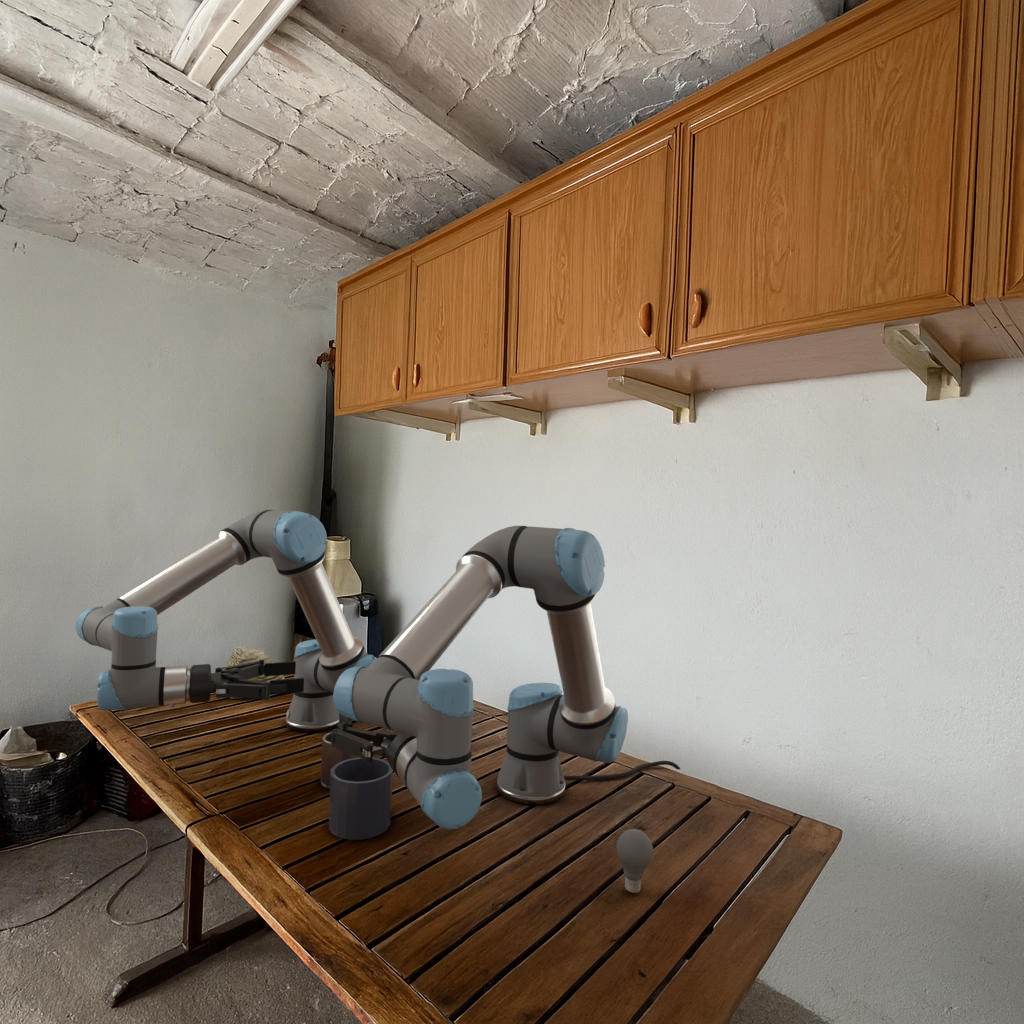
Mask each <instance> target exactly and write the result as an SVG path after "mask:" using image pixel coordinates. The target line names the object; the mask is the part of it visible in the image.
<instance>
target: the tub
mask: <svg viewBox="0 0 1024 1024" xmlns="http://www.w3.org/2000/svg"><path fill="white" fill-rule="evenodd" d="M393 775H394V771H393V769H392V768H391V766H390V764H389V762H388V760H385V759H382V758H377V757H372V762H365V761H364V760H363V759H362V758H353V759H348V760H345V761H342V762H339V763H338V764H336V765H334V766H333V768H332V769H331V777H330V789H329V804H328V805H329V807H328V830H329V832H330V833H331V834H332V835H333V836H335V837H337V838H339V839H343V840H349V841H361V840H366V839H371V838H375V837H377V836H380V835H381V834H383V833H385V832H386V831H387V830H388V829H389V827H390V825H391V821H392V803H393V802H392V801H393V800H392V799H393V779H394V777H393Z"/></svg>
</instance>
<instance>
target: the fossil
mask: <svg viewBox="0 0 1024 1024" xmlns="http://www.w3.org/2000/svg"><path fill="white" fill-rule="evenodd" d="M259 660H264V665H265V663H275V662H274V660H273V659H272V658H271V657H270V656H269V655H268V654H267V653H266V652H265V650H264V649H263V648H260V647H258V648H251V647H247V646H246V647H245V646H238V647H237V648H236V649H235V650H233V651H232V653H231V656H230V657H229V659H228V660H227V663H226V666H225V667H229V666H234V665H240V664H245V663H251V662H256V661H259ZM281 679H286V678H285V675H277V676H264V675H261V676H257V677H254V678H251V679H248V680H255V681H263V682H270V680H281ZM275 695H277V694H272V695H270V697H271V696H275ZM229 698H230V699H234V698H233V697H229Z"/></svg>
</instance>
